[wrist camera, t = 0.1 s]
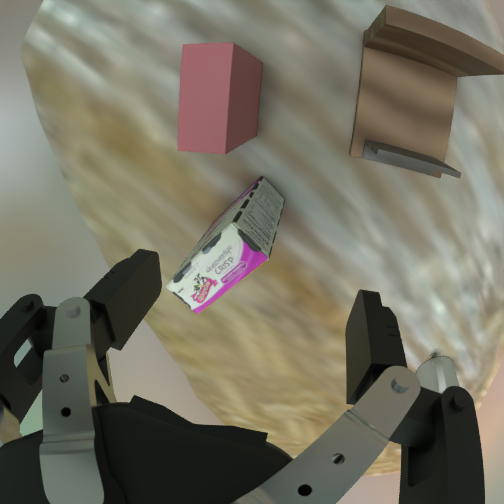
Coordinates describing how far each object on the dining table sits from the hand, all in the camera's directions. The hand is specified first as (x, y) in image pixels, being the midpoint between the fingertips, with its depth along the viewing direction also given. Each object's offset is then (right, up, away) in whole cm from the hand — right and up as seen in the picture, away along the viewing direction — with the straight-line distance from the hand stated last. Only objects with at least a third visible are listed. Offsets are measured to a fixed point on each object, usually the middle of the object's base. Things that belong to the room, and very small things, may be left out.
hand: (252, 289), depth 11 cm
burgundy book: (-1, +21, +23) cm, 31 cm away
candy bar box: (0, +7, +30) cm, 31 cm away
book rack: (+20, +20, +18) cm, 33 cm away
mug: (+39, -23, +38) cm, 59 cm away
